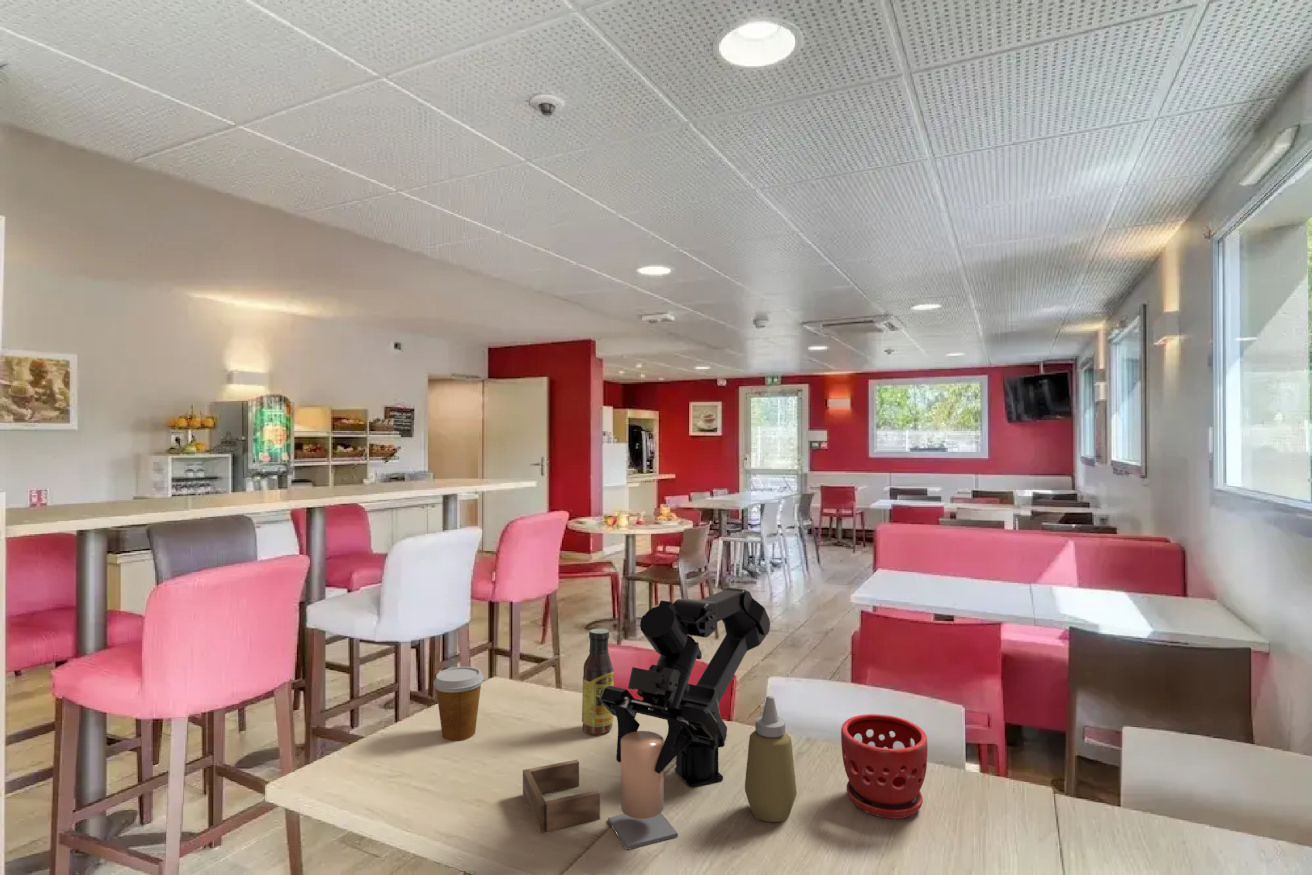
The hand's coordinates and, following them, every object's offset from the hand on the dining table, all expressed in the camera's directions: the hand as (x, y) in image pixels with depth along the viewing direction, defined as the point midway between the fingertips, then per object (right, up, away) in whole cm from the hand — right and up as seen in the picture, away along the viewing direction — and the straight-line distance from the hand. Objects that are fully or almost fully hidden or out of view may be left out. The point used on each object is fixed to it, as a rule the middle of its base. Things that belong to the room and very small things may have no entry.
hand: (637, 766), depth 101 cm
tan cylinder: (+1, -7, +1) cm, 7 cm away
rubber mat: (+1, -10, +1) cm, 10 cm away
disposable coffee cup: (-36, -10, +34) cm, 51 cm away
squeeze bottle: (+21, -10, +5) cm, 24 cm away
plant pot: (+39, -10, +8) cm, 41 cm away
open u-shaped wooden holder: (-12, -10, +7) cm, 17 cm away
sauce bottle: (-9, -10, +36) cm, 39 cm away
